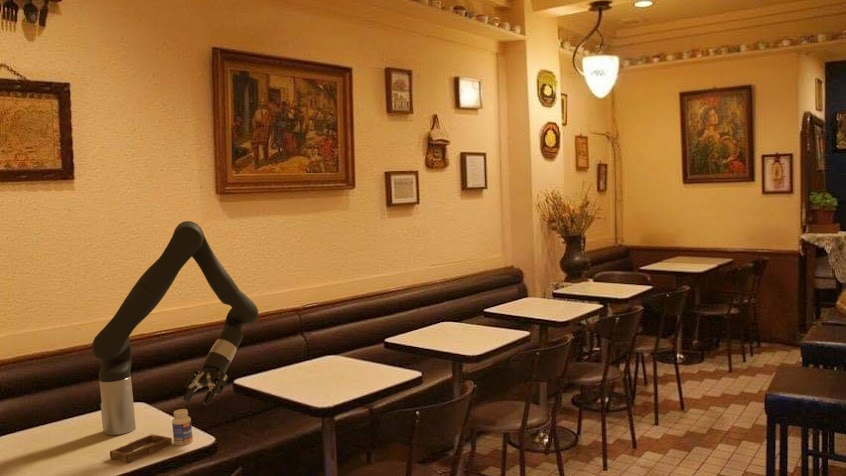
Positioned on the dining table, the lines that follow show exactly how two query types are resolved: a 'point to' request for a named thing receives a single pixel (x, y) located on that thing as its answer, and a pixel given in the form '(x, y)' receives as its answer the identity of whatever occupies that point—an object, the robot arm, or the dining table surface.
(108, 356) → the robot arm
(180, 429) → the pill bottle
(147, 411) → the dining table surface
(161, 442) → the brown wooden rectangular frame
